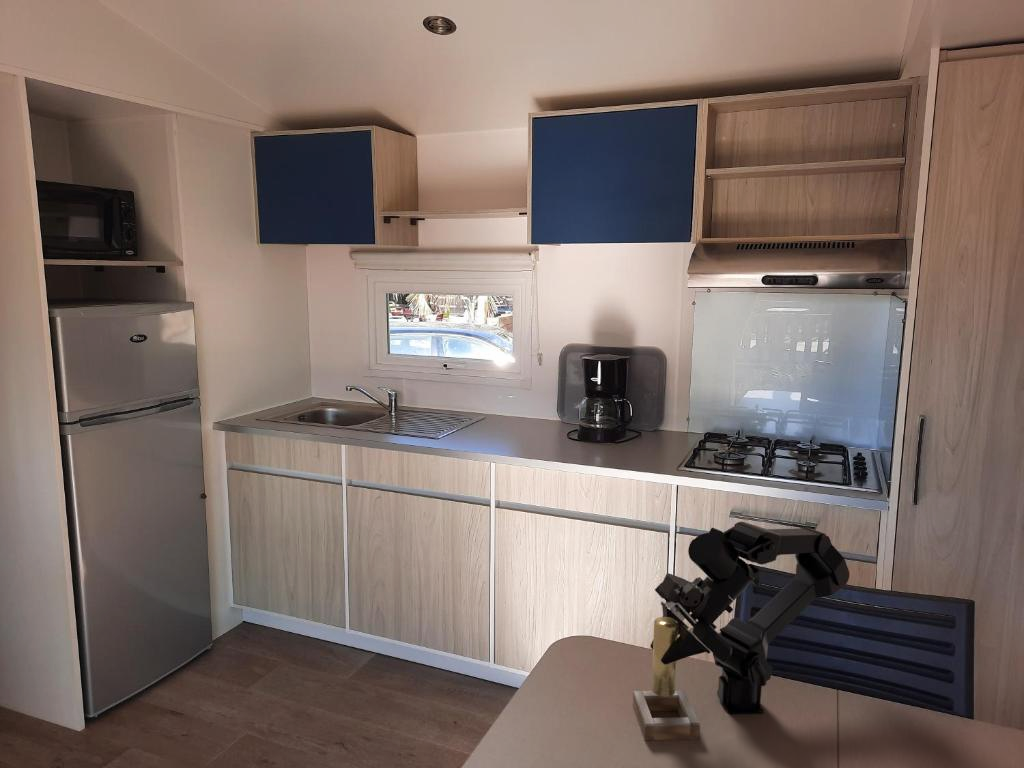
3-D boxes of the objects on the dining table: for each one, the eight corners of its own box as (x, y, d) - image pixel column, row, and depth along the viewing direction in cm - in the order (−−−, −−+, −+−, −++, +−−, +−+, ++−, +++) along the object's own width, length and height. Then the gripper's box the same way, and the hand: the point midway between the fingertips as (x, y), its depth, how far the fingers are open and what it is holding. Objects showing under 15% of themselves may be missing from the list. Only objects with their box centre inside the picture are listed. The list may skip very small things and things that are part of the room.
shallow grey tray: (683, 705, 130) (684, 689, 130) (699, 739, 121) (700, 722, 121) (632, 706, 130) (633, 690, 129) (644, 740, 121) (645, 724, 120)
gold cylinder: (672, 682, 127) (675, 616, 125) (677, 696, 123) (680, 628, 121) (649, 682, 127) (652, 616, 125) (654, 696, 123) (656, 628, 121)
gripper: (667, 538, 130) (607, 602, 130) (718, 585, 113) (649, 659, 112) (705, 575, 134) (646, 637, 133) (761, 626, 116) (693, 698, 115)
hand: (657, 655), depth 123 cm, fingers closed on gold cylinder, 4 cm apart
